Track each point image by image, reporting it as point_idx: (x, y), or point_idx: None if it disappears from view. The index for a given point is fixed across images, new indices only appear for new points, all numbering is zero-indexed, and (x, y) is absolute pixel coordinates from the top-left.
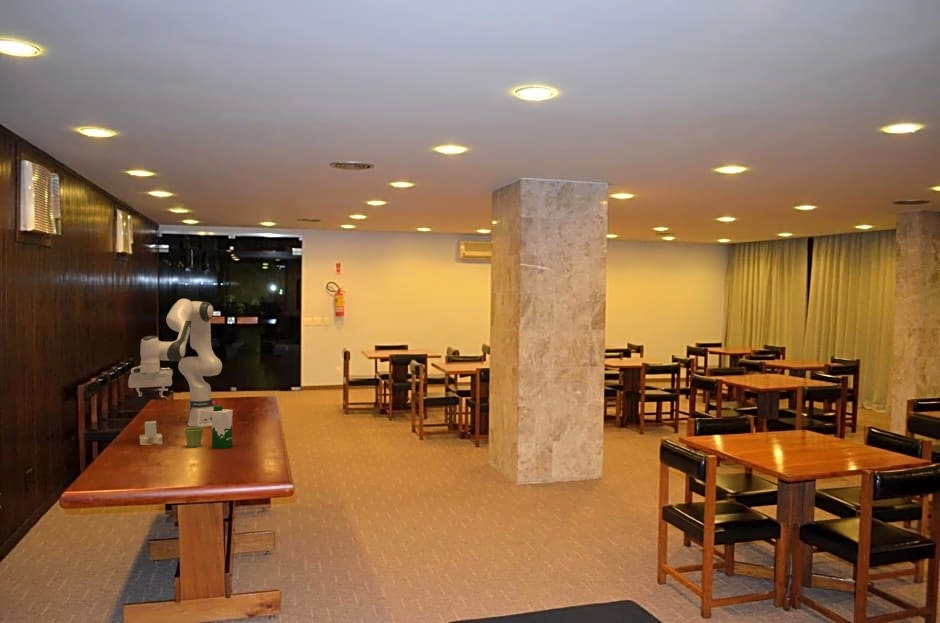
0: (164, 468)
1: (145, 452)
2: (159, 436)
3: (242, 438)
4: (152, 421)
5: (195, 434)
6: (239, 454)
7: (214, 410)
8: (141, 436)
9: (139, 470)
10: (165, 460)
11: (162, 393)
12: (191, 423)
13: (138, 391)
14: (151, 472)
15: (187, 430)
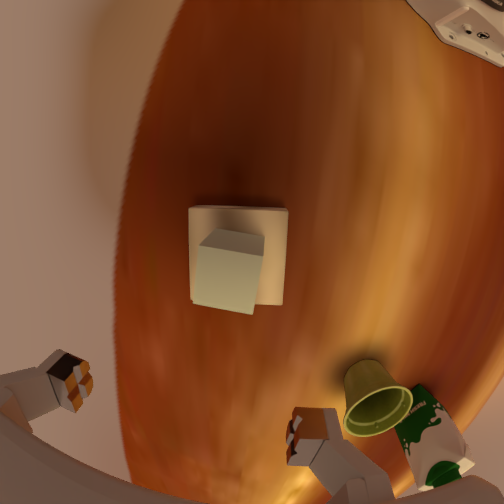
0: (244, 492)
1: (212, 389)
2: (271, 288)
3: (492, 317)
4: (238, 268)
5: (369, 421)
6: (395, 460)
7: (432, 484)
8: (195, 245)
9: (203, 486)
10: (254, 465)
11: (335, 423)
12: (416, 1)
13: (38, 412)
14: (222, 497)
15: (365, 392)
